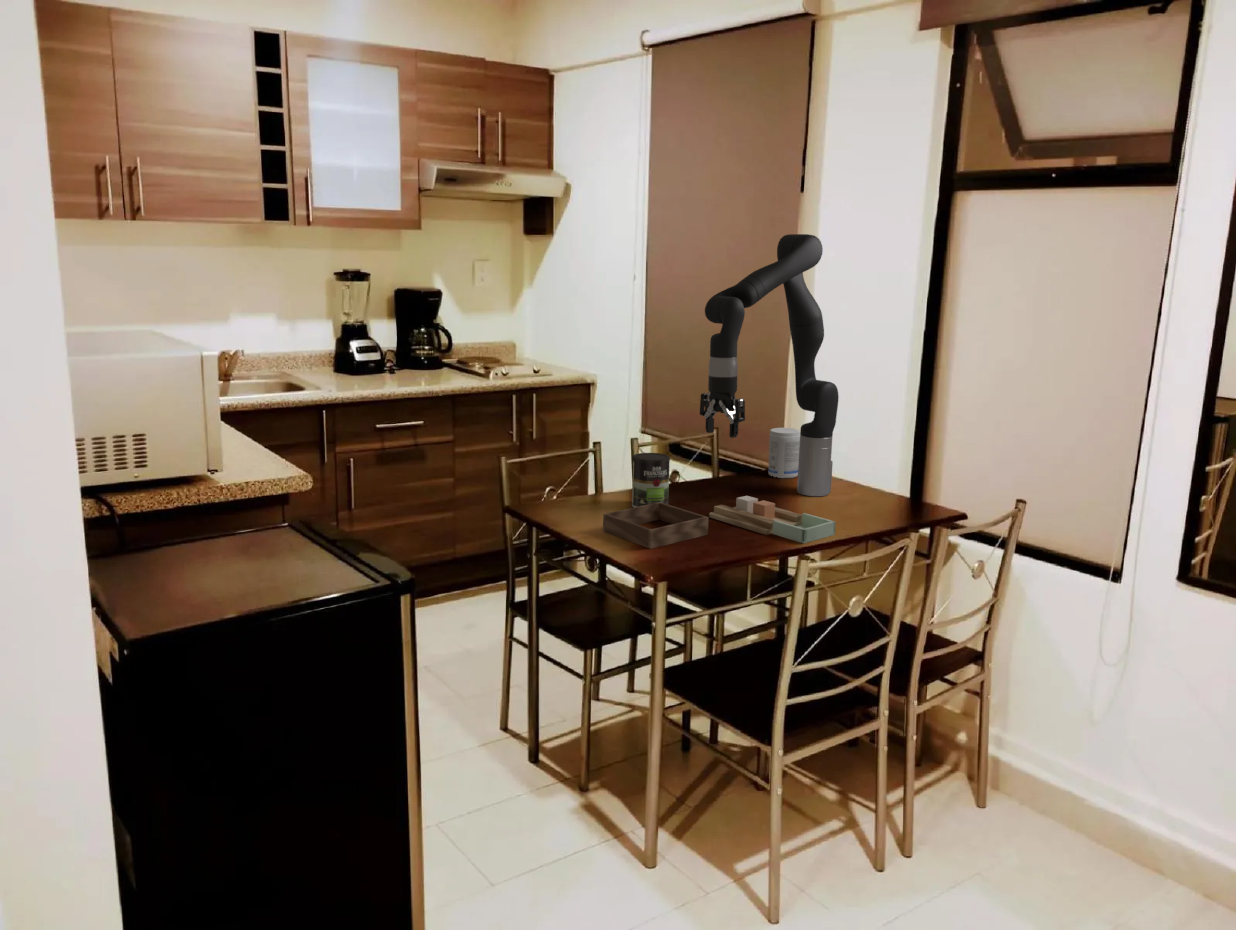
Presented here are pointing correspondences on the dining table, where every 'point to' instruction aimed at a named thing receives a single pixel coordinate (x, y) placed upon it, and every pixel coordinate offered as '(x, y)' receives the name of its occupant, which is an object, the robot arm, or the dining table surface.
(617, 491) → the dining table surface
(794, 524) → the slot board
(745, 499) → the light grey cube
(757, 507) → the orange cube
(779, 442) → the supplement tub
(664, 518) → the brown shallow square box
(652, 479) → the coffee can
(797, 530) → the tray
